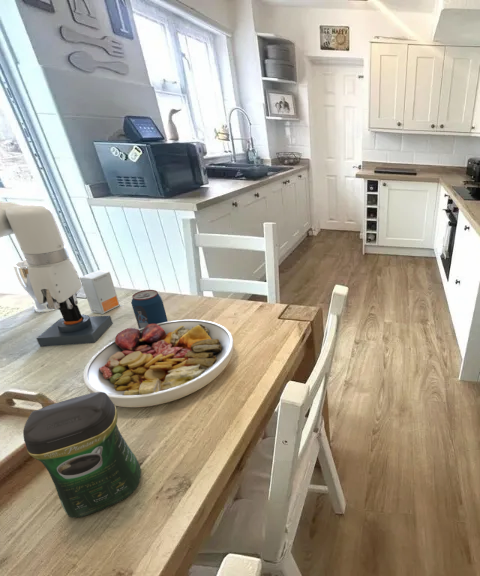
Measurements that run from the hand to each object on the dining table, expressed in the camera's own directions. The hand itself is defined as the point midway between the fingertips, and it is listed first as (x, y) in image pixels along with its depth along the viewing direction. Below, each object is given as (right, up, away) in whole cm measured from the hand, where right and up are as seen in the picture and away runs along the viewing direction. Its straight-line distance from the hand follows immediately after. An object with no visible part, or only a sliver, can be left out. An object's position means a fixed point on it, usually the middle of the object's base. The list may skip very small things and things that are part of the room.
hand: (73, 319), depth 88 cm
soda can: (+18, -4, +6) cm, 20 cm away
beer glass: (-20, +2, +13) cm, 24 cm away
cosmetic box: (-4, +2, +15) cm, 15 cm away
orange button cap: (0, -2, +1) cm, 2 cm away
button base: (-1, -4, +2) cm, 5 cm away
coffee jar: (+39, -25, -34) cm, 57 cm away
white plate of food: (+31, -11, -7) cm, 34 cm away
